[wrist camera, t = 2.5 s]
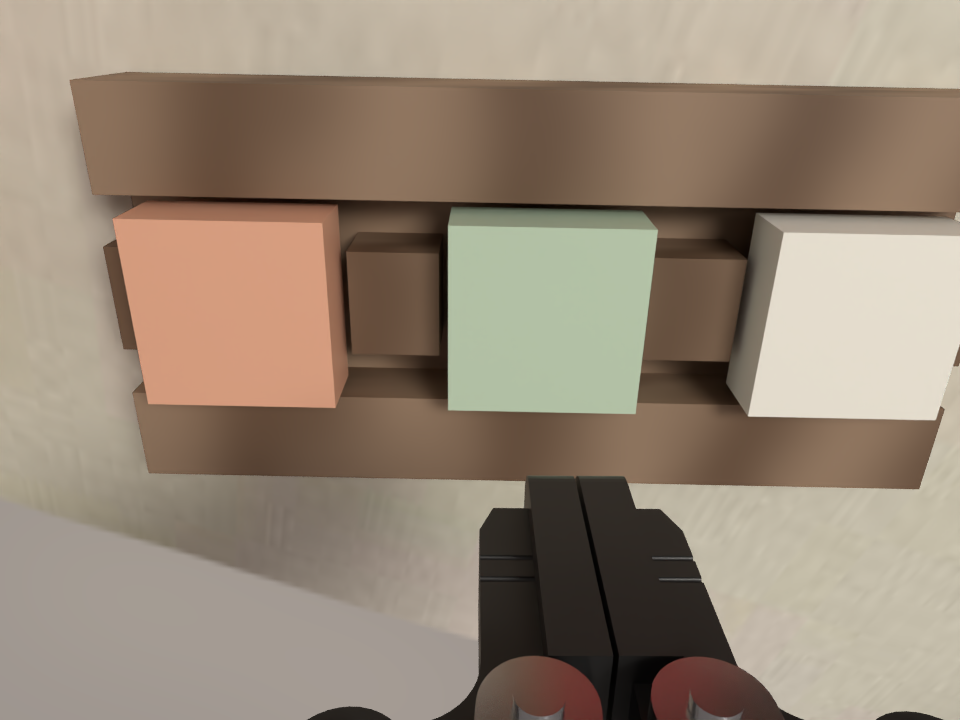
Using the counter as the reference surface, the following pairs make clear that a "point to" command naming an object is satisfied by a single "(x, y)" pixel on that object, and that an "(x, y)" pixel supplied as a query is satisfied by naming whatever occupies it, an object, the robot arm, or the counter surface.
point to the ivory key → (847, 316)
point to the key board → (524, 184)
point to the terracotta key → (236, 302)
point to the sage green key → (547, 308)
